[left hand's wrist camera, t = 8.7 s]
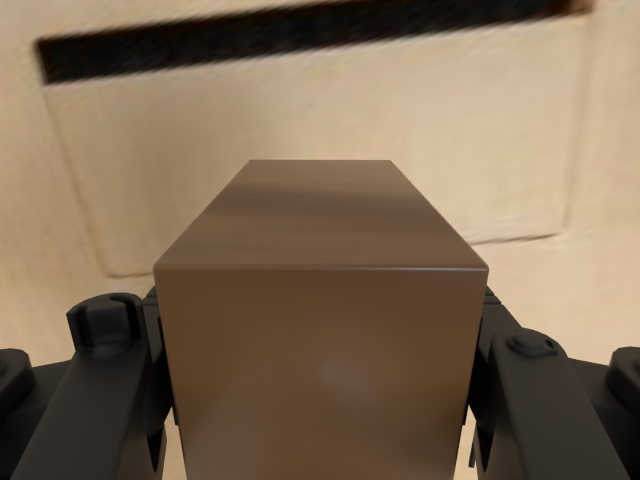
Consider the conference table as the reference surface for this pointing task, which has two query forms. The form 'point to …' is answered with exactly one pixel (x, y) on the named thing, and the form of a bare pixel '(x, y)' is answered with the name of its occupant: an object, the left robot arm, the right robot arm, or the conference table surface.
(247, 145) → the conference table surface
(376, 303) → the bar
